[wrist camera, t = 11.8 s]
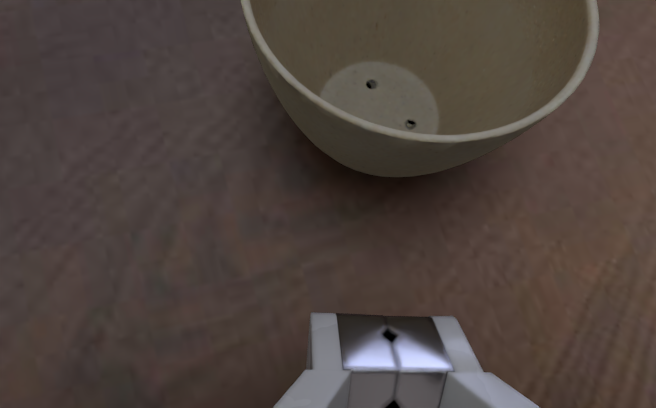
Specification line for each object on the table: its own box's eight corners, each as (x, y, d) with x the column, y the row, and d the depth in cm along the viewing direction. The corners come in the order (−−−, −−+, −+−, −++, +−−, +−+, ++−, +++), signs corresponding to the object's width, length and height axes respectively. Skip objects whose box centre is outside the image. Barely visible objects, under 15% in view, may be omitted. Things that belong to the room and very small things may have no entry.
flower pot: (429, 3, 22) (494, -163, 15) (532, 186, 19) (670, 81, 12) (224, 52, 20) (194, -115, 13) (302, 267, 17) (315, 193, 10)
